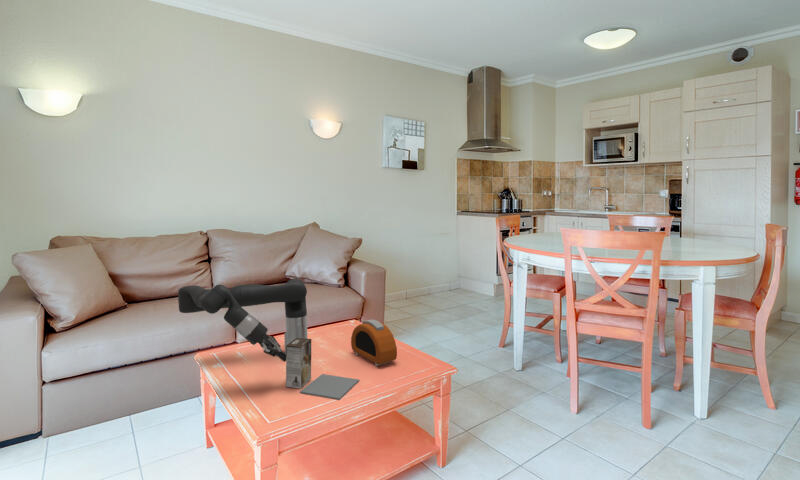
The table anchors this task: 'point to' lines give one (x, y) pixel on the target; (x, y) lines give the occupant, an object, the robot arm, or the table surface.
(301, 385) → the coffee box
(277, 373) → the table surface
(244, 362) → the table surface
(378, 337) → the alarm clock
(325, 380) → the mat
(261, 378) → the table surface
